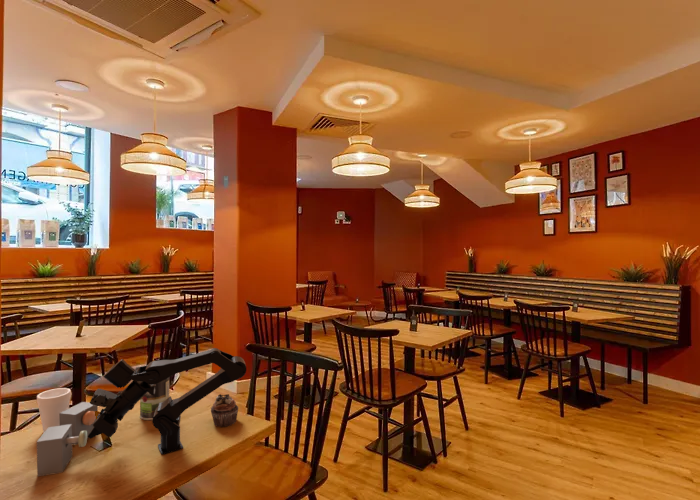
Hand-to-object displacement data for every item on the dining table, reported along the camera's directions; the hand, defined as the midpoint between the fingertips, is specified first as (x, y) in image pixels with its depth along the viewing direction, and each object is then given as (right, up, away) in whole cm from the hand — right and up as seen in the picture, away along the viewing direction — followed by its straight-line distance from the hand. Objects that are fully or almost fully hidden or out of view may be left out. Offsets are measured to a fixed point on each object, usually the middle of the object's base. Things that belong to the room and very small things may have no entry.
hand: (89, 437), depth 121 cm
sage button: (-4, -2, -1) cm, 5 cm away
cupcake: (+33, -7, +26) cm, 42 cm away
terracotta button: (-11, -2, +13) cm, 17 cm away
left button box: (-8, -7, -3) cm, 11 cm away
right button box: (-12, -7, +14) cm, 20 cm away
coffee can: (+5, -6, +32) cm, 33 cm away
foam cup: (-24, -6, +19) cm, 32 cm away
